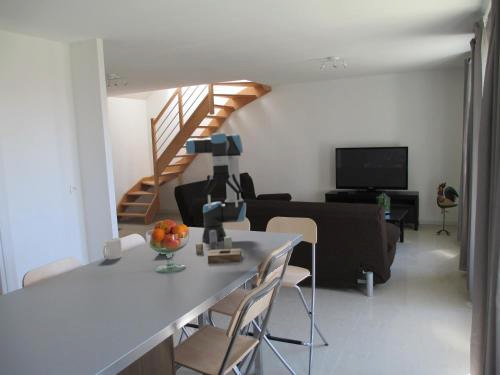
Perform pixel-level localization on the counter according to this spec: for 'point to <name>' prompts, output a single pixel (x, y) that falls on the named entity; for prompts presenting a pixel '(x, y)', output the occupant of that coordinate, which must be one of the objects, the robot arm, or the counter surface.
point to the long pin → (213, 240)
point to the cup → (112, 248)
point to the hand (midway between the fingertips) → (223, 207)
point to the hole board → (225, 256)
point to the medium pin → (228, 242)
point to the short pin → (199, 248)
